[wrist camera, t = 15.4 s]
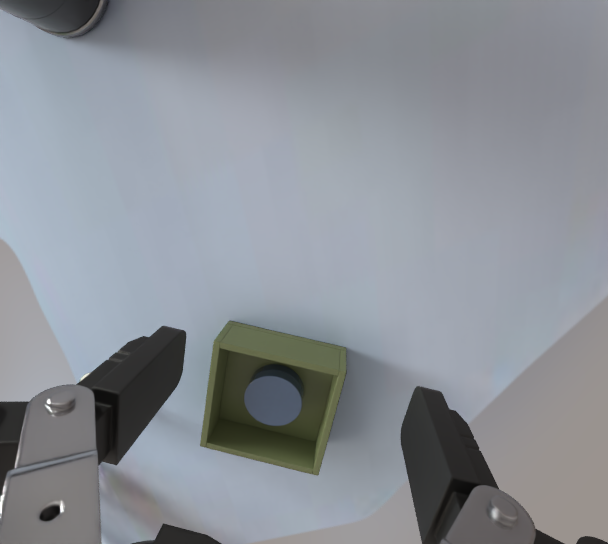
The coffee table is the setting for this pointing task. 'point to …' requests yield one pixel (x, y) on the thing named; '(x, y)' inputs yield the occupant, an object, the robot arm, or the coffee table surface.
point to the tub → (235, 378)
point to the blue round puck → (274, 395)
